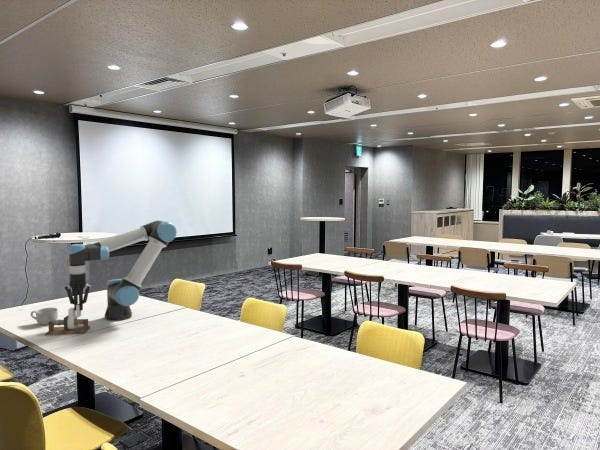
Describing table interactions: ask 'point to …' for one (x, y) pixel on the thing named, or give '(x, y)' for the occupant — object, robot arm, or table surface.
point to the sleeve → (71, 318)
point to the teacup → (45, 315)
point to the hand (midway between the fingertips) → (78, 316)
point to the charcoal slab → (66, 322)
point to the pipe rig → (61, 330)
